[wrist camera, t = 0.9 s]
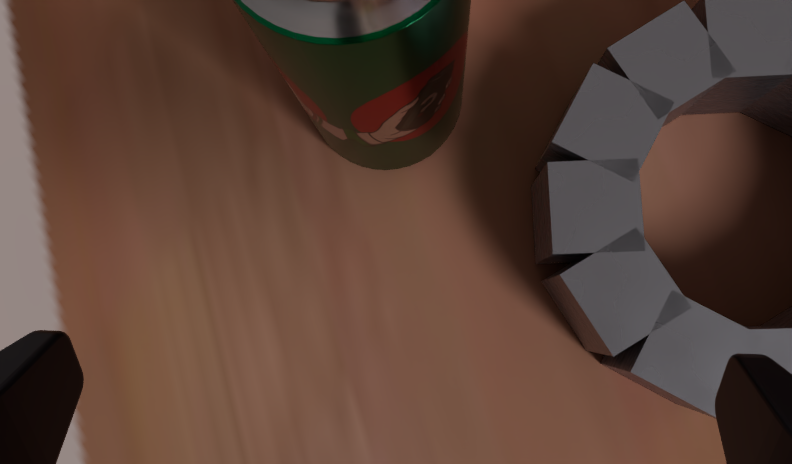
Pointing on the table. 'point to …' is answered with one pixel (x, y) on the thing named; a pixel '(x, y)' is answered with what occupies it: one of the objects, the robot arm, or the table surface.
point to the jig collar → (621, 196)
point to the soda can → (370, 70)
